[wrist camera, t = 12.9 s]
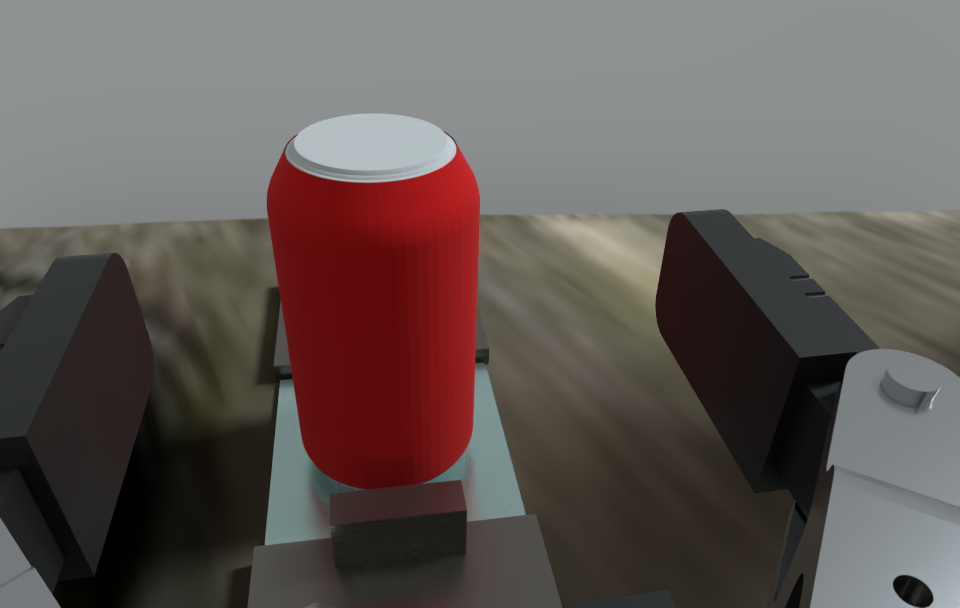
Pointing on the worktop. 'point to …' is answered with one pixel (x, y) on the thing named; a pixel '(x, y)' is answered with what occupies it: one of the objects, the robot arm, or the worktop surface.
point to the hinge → (400, 525)
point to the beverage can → (378, 295)
